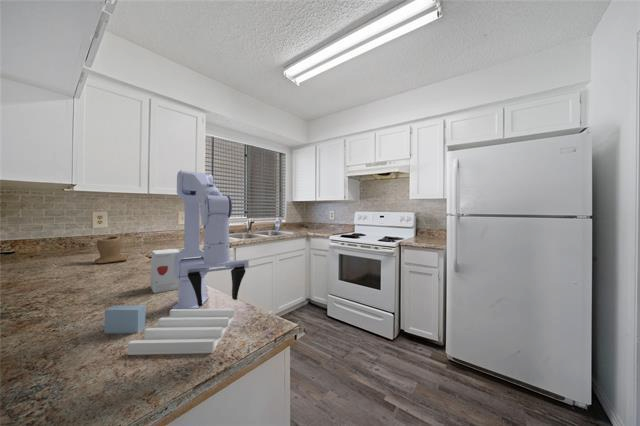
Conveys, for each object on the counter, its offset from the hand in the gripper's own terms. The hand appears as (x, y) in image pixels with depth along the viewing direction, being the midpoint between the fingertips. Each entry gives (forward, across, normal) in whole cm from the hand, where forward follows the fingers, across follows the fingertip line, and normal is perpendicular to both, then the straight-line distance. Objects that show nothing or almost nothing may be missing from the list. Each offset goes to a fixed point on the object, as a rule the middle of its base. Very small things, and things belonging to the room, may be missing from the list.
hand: (217, 302), depth 57 cm
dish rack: (+9, -5, +11) cm, 15 cm away
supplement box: (+2, -10, +54) cm, 55 cm away
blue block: (+7, -19, +21) cm, 29 cm away
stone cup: (-8, -36, +119) cm, 124 cm away
